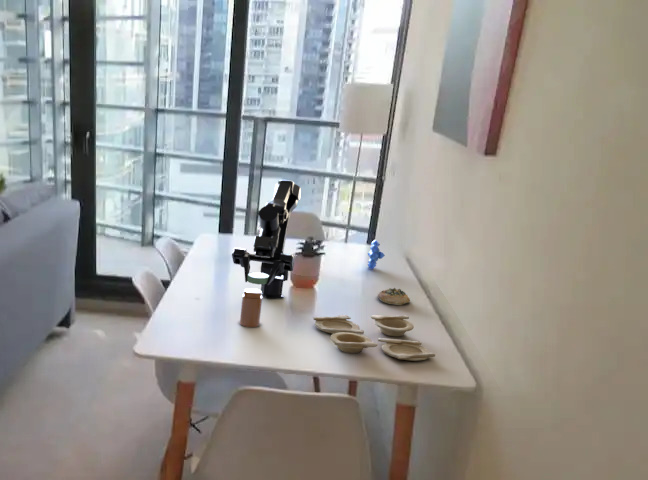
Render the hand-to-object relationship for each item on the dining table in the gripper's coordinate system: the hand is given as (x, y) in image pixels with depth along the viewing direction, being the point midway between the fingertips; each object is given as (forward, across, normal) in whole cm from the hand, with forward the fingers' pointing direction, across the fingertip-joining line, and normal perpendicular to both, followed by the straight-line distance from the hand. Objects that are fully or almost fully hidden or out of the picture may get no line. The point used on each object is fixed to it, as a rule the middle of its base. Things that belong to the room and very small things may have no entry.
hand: (256, 283), depth 218 cm
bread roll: (-23, +40, +42) cm, 62 cm away
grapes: (-54, +30, +73) cm, 96 cm away
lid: (-2, 0, 0) cm, 2 cm away
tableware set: (+9, +36, +9) cm, 38 cm away
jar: (+10, 0, +7) cm, 13 cm away
